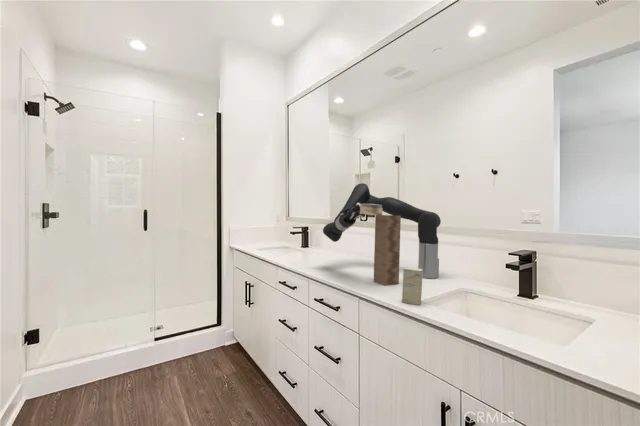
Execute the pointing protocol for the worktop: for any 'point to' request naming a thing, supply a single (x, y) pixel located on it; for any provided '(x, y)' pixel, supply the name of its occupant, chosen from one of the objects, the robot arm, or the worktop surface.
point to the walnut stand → (387, 249)
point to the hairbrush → (370, 209)
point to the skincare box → (412, 285)
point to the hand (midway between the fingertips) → (362, 206)
